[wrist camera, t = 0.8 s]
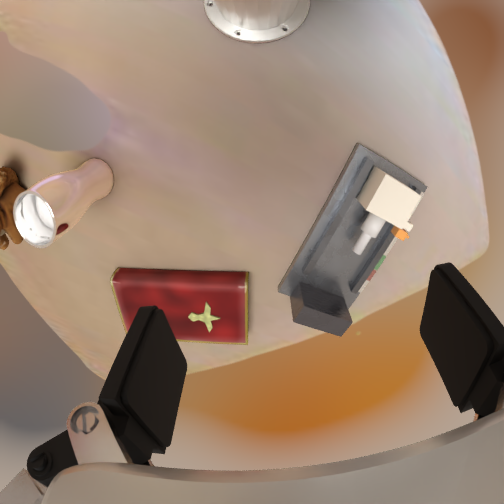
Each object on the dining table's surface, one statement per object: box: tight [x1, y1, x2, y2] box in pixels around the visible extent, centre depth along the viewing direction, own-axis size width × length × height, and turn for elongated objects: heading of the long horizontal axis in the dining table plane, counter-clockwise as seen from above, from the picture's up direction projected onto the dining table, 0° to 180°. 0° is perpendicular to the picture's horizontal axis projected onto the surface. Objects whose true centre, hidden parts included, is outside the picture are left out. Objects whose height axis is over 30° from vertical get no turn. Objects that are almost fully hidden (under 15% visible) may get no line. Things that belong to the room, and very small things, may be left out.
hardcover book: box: [110, 268, 249, 345], centre depth 46 cm, size 12×21×4 cm, turn 90°
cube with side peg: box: [352, 166, 422, 255], centre depth 36 cm, size 11×8×4 cm
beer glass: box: [13, 158, 114, 248], centre depth 31 cm, size 7×7×15 cm
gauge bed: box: [278, 143, 427, 336], centre depth 38 cm, size 24×12×7 cm, turn 157°
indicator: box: [391, 225, 409, 241], centre depth 37 cm, size 1×3×2 cm, turn 67°
